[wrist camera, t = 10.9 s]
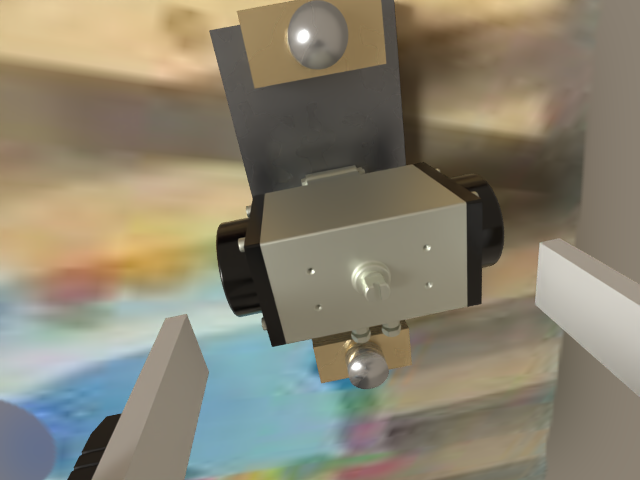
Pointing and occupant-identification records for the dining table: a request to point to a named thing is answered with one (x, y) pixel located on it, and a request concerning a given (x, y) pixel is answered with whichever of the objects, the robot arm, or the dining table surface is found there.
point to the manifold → (319, 122)
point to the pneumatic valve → (360, 251)
